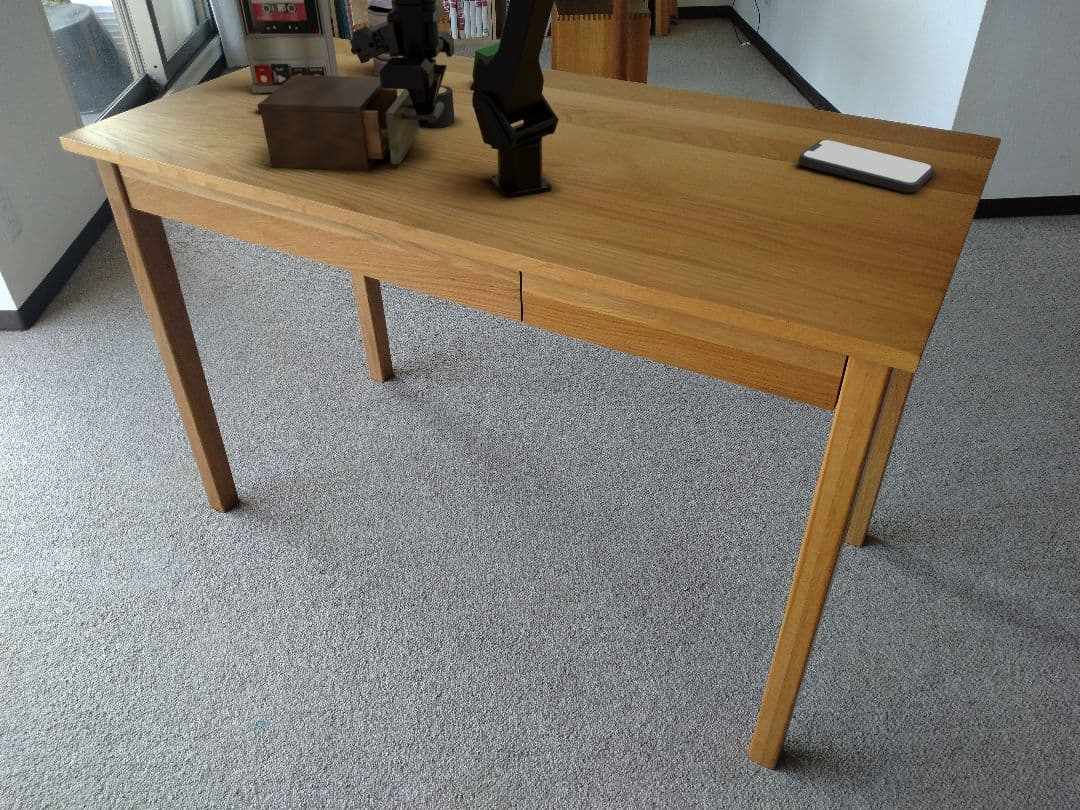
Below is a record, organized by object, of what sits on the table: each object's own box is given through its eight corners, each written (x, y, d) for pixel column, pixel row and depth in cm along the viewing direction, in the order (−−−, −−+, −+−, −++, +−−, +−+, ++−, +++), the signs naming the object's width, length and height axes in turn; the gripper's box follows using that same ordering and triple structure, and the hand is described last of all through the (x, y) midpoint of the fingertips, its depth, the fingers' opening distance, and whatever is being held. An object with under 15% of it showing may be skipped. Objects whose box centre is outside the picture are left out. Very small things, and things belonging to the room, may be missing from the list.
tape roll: (459, 125, 127) (457, 93, 124) (424, 129, 125) (421, 97, 123) (448, 114, 131) (446, 83, 128) (414, 119, 130) (411, 87, 127)
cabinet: (392, 136, 123) (386, 77, 118) (368, 170, 112) (360, 106, 107) (304, 134, 124) (293, 74, 119) (271, 167, 113) (258, 103, 108)
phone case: (934, 176, 110) (820, 148, 118) (937, 165, 109) (823, 137, 117) (911, 197, 105) (794, 166, 113) (915, 185, 104) (796, 155, 112)
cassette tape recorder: (252, 94, 140) (217, -75, 125) (261, 84, 145) (228, -80, 130) (335, 93, 140) (309, -76, 125) (340, 83, 145) (317, -81, 130)
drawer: (451, 134, 121) (448, 86, 117) (434, 165, 111) (430, 114, 107) (336, 130, 123) (329, 83, 119) (310, 160, 113) (301, 110, 109)
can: (371, 66, 154) (362, -5, 147) (431, 61, 156) (426, -9, 149) (378, 83, 145) (369, 8, 138) (442, 77, 148) (436, 4, 140)
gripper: (371, -15, 113) (384, 101, 123) (330, 16, 98) (349, 145, 108) (451, -14, 112) (458, 103, 122) (422, 17, 97) (433, 148, 107)
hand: (424, 123), depth 114 cm, fingers closed
